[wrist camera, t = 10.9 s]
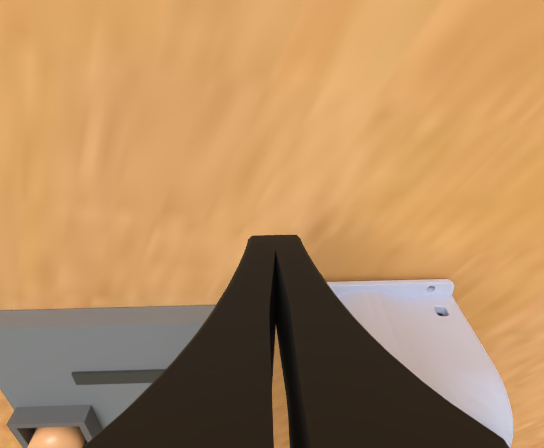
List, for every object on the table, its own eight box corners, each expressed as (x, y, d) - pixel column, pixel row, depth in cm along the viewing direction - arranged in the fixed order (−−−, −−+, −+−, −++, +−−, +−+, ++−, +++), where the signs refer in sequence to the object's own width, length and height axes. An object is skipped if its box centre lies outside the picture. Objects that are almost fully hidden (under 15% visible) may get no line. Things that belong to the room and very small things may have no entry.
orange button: (81, 414, 28) (69, 442, 26) (94, 439, 30) (84, 467, 28) (32, 416, 28) (17, 443, 26) (48, 441, 30) (35, 468, 28)
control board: (255, 304, 25) (254, 338, 22) (262, 467, 37) (262, 500, 34) (-25, 311, 24) (-55, 346, 22) (75, 473, 36) (63, 507, 34)
